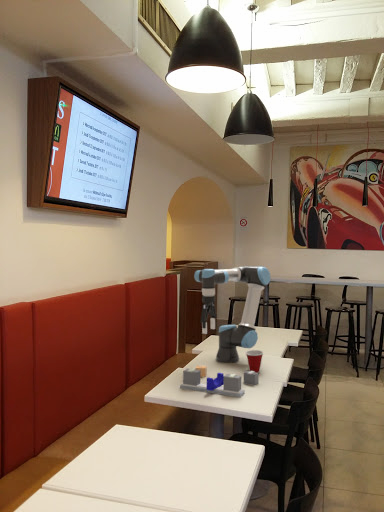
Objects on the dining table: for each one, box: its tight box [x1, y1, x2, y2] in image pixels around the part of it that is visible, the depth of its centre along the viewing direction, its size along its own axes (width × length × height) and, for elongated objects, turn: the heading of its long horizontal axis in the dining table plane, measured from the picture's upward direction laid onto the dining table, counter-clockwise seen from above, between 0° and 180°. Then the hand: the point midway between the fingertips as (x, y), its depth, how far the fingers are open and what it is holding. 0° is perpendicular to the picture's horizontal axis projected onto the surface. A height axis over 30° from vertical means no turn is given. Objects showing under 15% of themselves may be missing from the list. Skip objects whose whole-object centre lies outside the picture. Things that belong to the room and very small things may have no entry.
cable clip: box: [206, 372, 225, 391], centre depth 239 cm, size 12×4×6 cm, turn 145°
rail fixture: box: [179, 367, 245, 398], centre depth 240 cm, size 6×34×10 cm, turn 66°
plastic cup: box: [245, 349, 264, 373], centre depth 276 cm, size 11×11×12 cm
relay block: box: [243, 370, 260, 386], centre depth 253 cm, size 4×7×6 cm, turn 56°
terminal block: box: [194, 365, 208, 378], centre depth 267 cm, size 5×6×5 cm
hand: (208, 331), depth 269 cm, fingers open, 13 cm apart
